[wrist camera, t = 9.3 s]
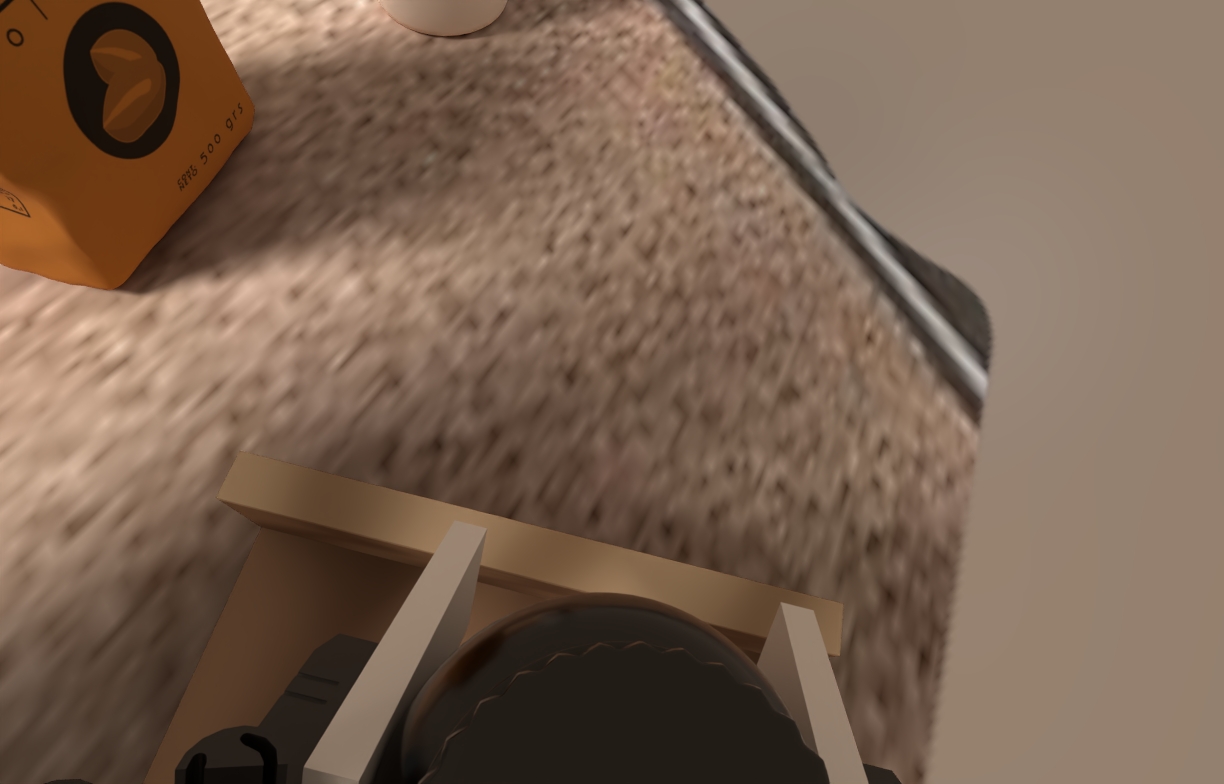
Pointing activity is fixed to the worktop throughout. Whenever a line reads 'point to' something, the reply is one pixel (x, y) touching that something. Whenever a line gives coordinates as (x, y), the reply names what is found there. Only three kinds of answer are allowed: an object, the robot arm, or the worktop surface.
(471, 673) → the supplement bottle
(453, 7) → the milk bottle
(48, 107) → the orange brown carved sculpture
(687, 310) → the worktop surface
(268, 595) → the walnut shelf
